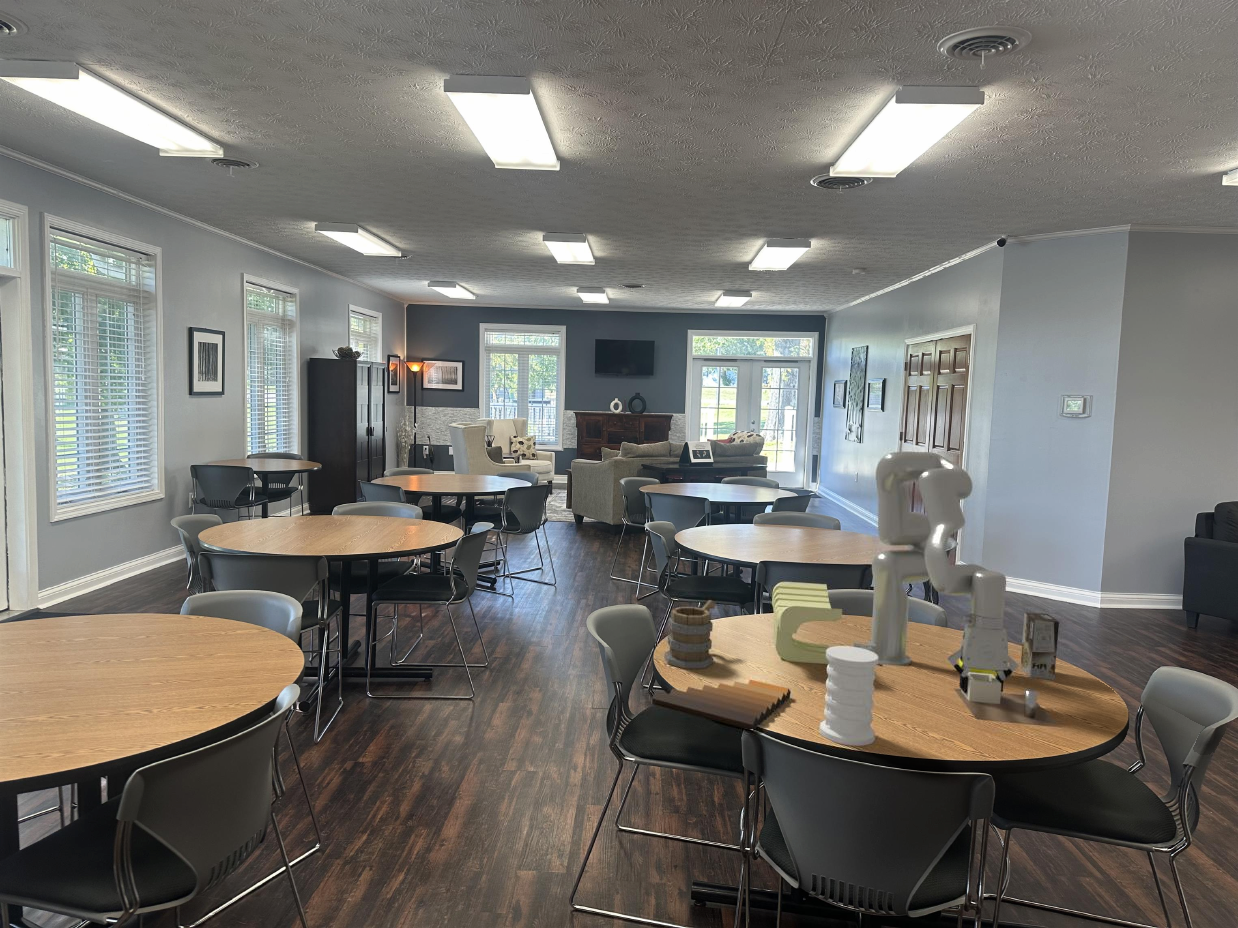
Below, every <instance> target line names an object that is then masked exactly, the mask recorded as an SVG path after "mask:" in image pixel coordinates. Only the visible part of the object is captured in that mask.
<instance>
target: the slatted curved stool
mask: <svg viewBox="0 0 1238 928" xmlns="http://www.w3.org/2000/svg"><path fill="white" fill-rule="evenodd" d="M771 597H772V599H771V600H772V601H771V605H772V608H773V609H772V610H773V627H772V629H773V630H772V631H773V632H772V636H773V642H774V647H775V649H776V652H777V655H778V656H779V657H780V658H782V659H783V660H784V661H787V662H796V663H809V664H822V665H823V664H825V665H828V664H829V660H828V659H827V658H826V650H827V649H828V648H830V647H829V645H828V644H823V643H822V644H821V643H813V642H812V643H811V642H806V641H801V640H799V639H796V638H794V637H793V634H794V635H795V634H797V633H798V630H799V628H800V626H801V625H803V624H805V623H809V622H811V623H812V622H838V621H841V620H842V618H843V609H842V608H832V606H831V603H830V599H829V592H828V587H827V584H826V583H823V584H822V583H808V582H793V581H781V582H778V583H777V584H776V585H775V586H774V587H773V590H772V596H771Z"/></svg>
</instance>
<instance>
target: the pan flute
mask: <svg viewBox="0 0 1238 928" xmlns="http://www.w3.org/2000/svg"><path fill="white" fill-rule="evenodd" d="M791 692H792V691H791V690H790V688H788V687H784V686H780V685H775V684H771V683H767V682H762V681H757V680H753V679H749V680H748V683H745V682H739V681H734V682H733V685H729V684H727V683H726V684H724V683H719V684H718V686H717V687H714V686H710V685H705V684H704V685H703V687H702V689H698V688H694V687H691V686H688V687H687V689H686V691H683V690H680V689H679V690H678V689H676V688H672V689H671V691H670V693H667V692H662V691H659V690H655V691H654V693H653V695H652V697H651V700H652V701H651V702H652V705H655V706H656V707H657V706H658V707H661V708H666V709H669V710H672V711H676V712H681V713H684V714H688V715H691V716H695V717H700V718H703V719H708V720H710V721H714V722H718V723H722V724H726V725H730V726H734V727H737V728H741V729H745V730H748V729H753V730H754V731H755V730H756V729H757V728H758V727H759V726H760V725H762V724H763V723H764V721H766V720H767V719H768V718H769V717H770V716H772V714H774V713H775V711H777V710H779V708H780V707H781V706H783V705H784V704H785V703H786V702H787V701H789V699H790V698H791Z"/></svg>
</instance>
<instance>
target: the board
mask: <svg viewBox="0 0 1238 928" xmlns="http://www.w3.org/2000/svg"><path fill="white" fill-rule="evenodd" d="M953 689H954V691H955V693H956V694H957V695H958V697H959V698H960V700H961V701H962V702H963V704H964V705H965V706H966V708H967V709H968V710H969V711H970V713H971V714H972V715H973V717H974V718H975V720H980V721H981V720H982V721H991V722H993V721H994V722H1000V723H1001V722H1003V723H1009V724H1010V723H1012V724H1021V725H1032V726H1033V725H1034V726H1043V727H1051V728H1052V727H1053V728H1061V725H1060V724H1059V723H1058V722H1057V721H1056V720H1055V719H1054V718H1053V717H1052V716H1051V715H1050V714H1049V713H1048V712H1047V711H1045V709H1044V708H1043V707H1042V706H1041V705H1040V704H1039V703H1038V702H1037V703H1036V715H1035V718H1027V717H1025V716H1024V704H1025V694H1019V693H1018V694H1017V693H1006V692H1001V696H1000V704H993V703H983V702H972V701H969V700H968V699H967V698H966V696H965V695H964V694H963V693H962V691H961V688H953Z"/></svg>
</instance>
